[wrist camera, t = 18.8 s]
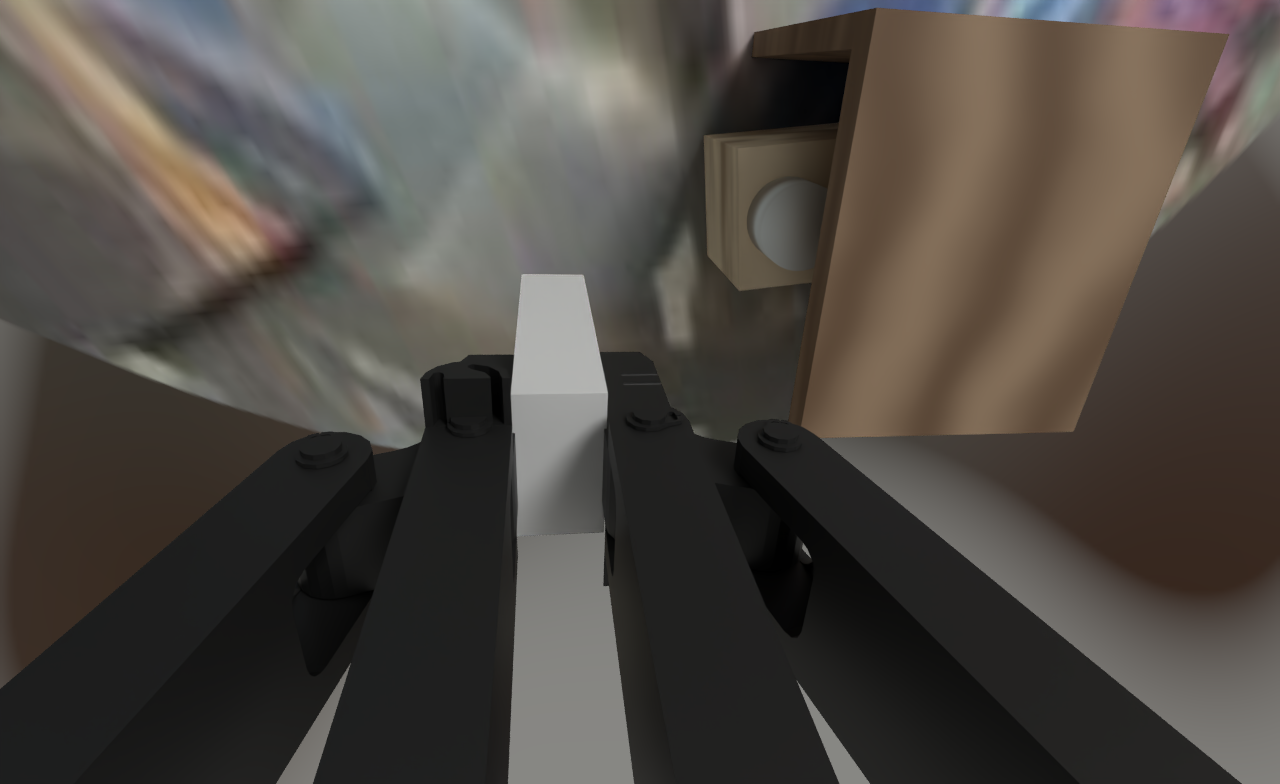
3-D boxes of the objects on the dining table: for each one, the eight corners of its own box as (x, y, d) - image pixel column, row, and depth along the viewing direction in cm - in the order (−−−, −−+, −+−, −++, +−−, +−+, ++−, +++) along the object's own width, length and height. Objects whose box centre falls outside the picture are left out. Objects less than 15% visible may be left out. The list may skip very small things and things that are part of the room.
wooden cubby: (721, 327, 42) (798, 438, 30) (754, 32, 35) (876, 7, 22) (919, 327, 44) (1073, 431, 31) (990, 48, 37) (1229, 34, 24)
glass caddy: (707, 255, 40) (753, 306, 31) (703, 135, 37) (753, 154, 28) (860, 238, 41) (948, 283, 32) (870, 119, 38) (969, 133, 29)
